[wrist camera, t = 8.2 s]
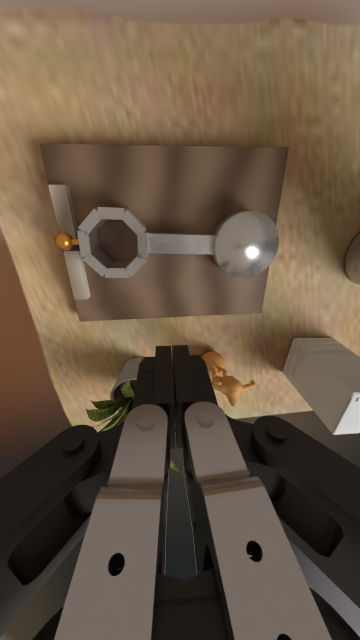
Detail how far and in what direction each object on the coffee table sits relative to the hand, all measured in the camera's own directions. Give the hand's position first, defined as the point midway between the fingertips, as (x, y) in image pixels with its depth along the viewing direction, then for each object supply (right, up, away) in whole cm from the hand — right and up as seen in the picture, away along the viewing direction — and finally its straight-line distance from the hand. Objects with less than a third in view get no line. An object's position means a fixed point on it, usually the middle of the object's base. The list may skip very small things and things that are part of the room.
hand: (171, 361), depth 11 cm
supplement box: (+22, -4, +28) cm, 36 cm away
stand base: (-1, +12, +18) cm, 21 cm away
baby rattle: (-1, +11, +15) cm, 19 cm away
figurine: (+5, -3, +26) cm, 26 cm away
